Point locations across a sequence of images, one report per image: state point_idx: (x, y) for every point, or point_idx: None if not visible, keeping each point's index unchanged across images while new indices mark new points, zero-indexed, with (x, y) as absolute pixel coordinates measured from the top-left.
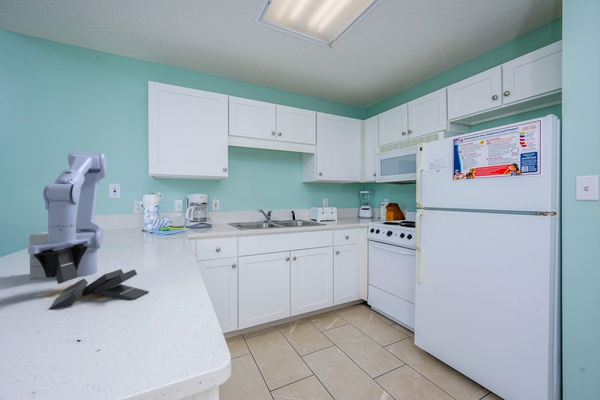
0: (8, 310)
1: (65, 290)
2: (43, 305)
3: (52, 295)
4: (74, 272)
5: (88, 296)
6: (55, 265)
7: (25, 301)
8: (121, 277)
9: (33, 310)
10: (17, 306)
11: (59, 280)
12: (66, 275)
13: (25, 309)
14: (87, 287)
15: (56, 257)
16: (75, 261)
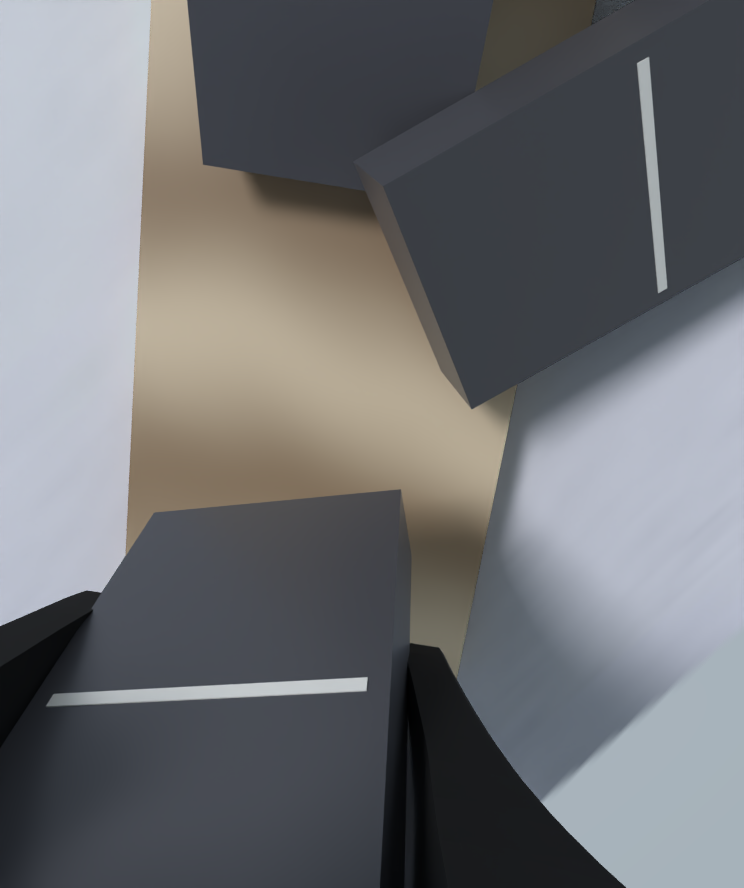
0: (688, 653)
1: (537, 330)
2: (596, 459)
3: (449, 526)
4: (162, 563)
5: (484, 68)
6: (444, 748)
7: (493, 700)
8: None
9: (712, 442)
10: (604, 662)
11: (407, 555)
12: (325, 545)
13: (680, 535)
14: (480, 58)
15: (493, 885)
16: (6, 701)
